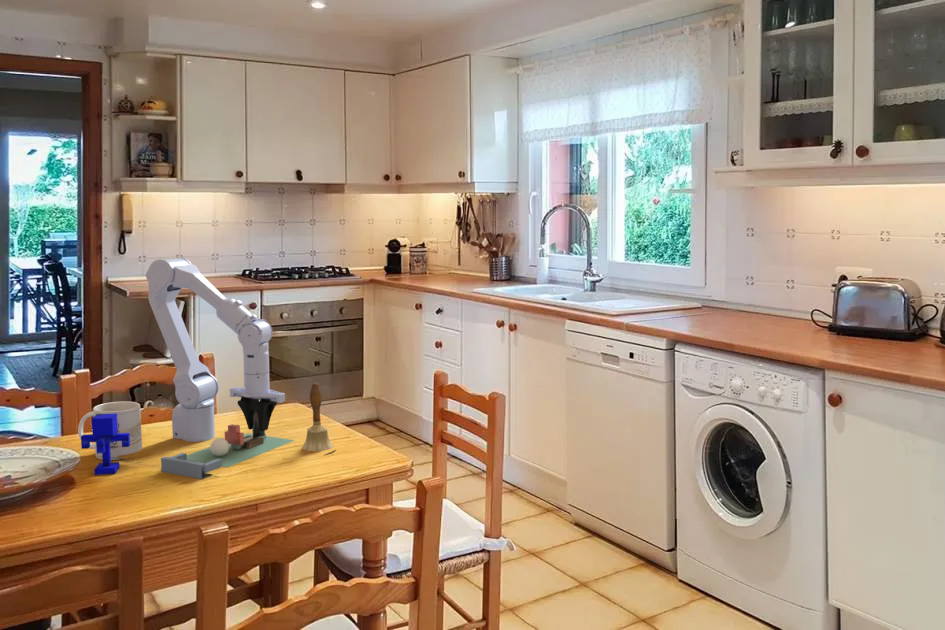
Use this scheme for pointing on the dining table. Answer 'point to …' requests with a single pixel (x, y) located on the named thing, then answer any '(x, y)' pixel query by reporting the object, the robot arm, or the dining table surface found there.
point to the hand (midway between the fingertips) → (258, 429)
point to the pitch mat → (238, 452)
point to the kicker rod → (237, 437)
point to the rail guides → (253, 442)
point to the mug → (119, 426)
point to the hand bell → (317, 426)
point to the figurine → (105, 441)
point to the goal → (188, 466)
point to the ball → (219, 447)
